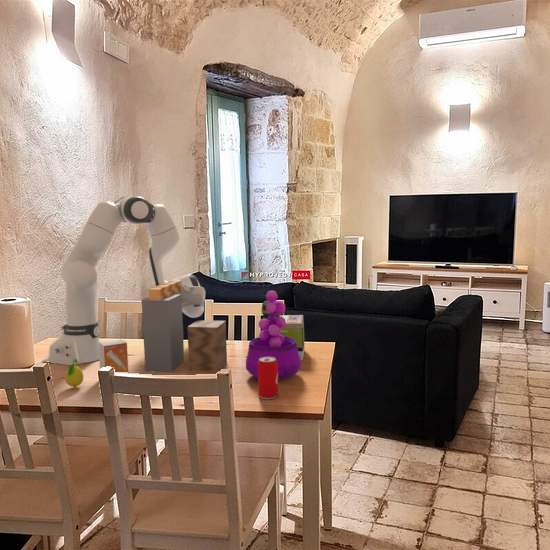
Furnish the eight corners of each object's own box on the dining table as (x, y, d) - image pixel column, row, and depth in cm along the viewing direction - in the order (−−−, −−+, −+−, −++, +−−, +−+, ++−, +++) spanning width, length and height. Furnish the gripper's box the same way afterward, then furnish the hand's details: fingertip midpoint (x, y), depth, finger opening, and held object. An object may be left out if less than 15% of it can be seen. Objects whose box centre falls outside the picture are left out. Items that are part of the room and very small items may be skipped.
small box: (105, 383, 181) (103, 346, 179) (100, 378, 186) (98, 342, 184) (129, 379, 185) (127, 342, 183) (123, 374, 190) (121, 338, 189)
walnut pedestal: (189, 370, 193) (187, 326, 191) (199, 361, 204) (197, 320, 202) (218, 371, 191) (217, 327, 189) (227, 362, 202) (225, 320, 200)
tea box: (280, 350, 218) (279, 314, 216) (304, 350, 217) (304, 314, 215) (276, 360, 203) (275, 322, 201) (303, 361, 202) (302, 322, 200)
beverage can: (281, 394, 167) (280, 356, 166) (274, 401, 161) (273, 362, 160) (262, 392, 169) (261, 355, 168) (255, 399, 164) (254, 360, 162)
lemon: (79, 383, 182) (77, 354, 180) (89, 386, 178) (87, 357, 177) (60, 388, 177) (58, 359, 175) (70, 392, 173) (68, 362, 172)
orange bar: (172, 290, 210) (171, 280, 210) (181, 290, 210) (181, 280, 209) (148, 300, 189) (148, 289, 188) (159, 300, 188) (159, 289, 188)
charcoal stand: (159, 360, 206) (156, 293, 203) (184, 361, 204) (181, 294, 201) (145, 371, 193) (141, 300, 190) (171, 372, 192) (168, 300, 188)
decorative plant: (264, 365, 197) (263, 285, 193) (310, 373, 188) (309, 288, 184) (235, 380, 181) (232, 292, 177) (283, 389, 172) (281, 296, 168)
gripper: (161, 290, 222) (148, 278, 209) (209, 291, 218) (199, 278, 205) (159, 305, 219) (146, 293, 207) (207, 305, 216) (197, 293, 203)
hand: (173, 285), depth 206 cm, fingers open, 6 cm apart
